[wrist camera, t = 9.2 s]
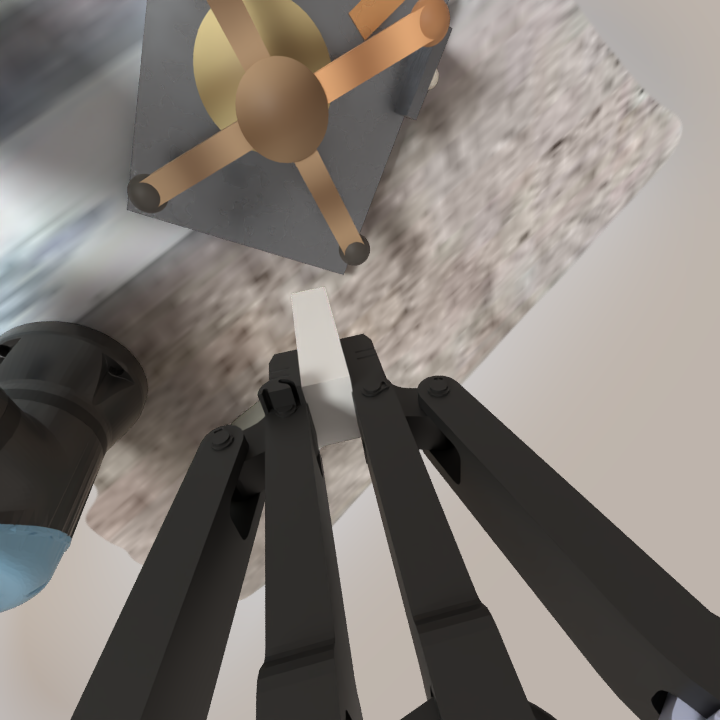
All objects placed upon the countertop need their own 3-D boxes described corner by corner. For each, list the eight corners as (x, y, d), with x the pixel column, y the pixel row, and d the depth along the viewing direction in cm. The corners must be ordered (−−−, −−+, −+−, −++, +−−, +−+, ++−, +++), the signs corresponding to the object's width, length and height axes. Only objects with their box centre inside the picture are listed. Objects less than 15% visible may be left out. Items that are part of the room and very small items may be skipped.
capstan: (464, 174, 38) (501, 193, 32) (241, 299, 41) (237, 337, 35) (345, -225, 24) (372, -324, 18) (16, 8, 27) (-56, -11, 21)
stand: (348, 271, 44) (357, 293, 39) (131, 205, 36) (112, 223, 32) (455, -5, 32) (485, -17, 28) (170, -183, 25) (150, -239, 20)
